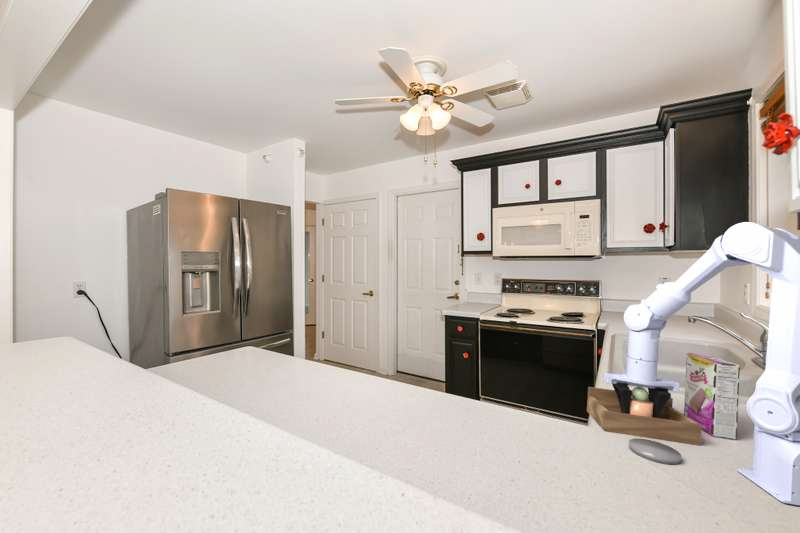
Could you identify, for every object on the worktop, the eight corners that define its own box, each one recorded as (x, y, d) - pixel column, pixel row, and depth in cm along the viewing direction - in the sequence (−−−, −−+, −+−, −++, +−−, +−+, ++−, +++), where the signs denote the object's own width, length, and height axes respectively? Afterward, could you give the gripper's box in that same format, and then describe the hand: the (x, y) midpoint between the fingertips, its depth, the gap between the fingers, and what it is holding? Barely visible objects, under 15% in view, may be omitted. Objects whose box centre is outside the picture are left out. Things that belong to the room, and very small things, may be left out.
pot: (656, 433, 77) (658, 392, 77) (630, 429, 78) (633, 388, 78) (645, 424, 82) (647, 385, 82) (621, 420, 83) (623, 382, 83)
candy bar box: (681, 417, 88) (685, 352, 89) (704, 421, 87) (708, 354, 88) (711, 437, 77) (715, 361, 78) (738, 441, 76) (742, 364, 77)
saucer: (691, 468, 62) (691, 462, 62) (640, 459, 64) (640, 454, 64) (666, 447, 70) (667, 442, 70) (622, 440, 72) (622, 435, 72)
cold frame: (700, 445, 72) (702, 416, 73) (604, 430, 76) (605, 402, 76) (669, 422, 84) (670, 397, 84) (586, 411, 88) (588, 386, 88)
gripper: (668, 358, 83) (665, 417, 83) (601, 351, 86) (597, 407, 86) (686, 365, 76) (683, 429, 76) (612, 357, 79) (608, 418, 79)
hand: (638, 419), depth 80 cm, fingers closed on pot, 5 cm apart
